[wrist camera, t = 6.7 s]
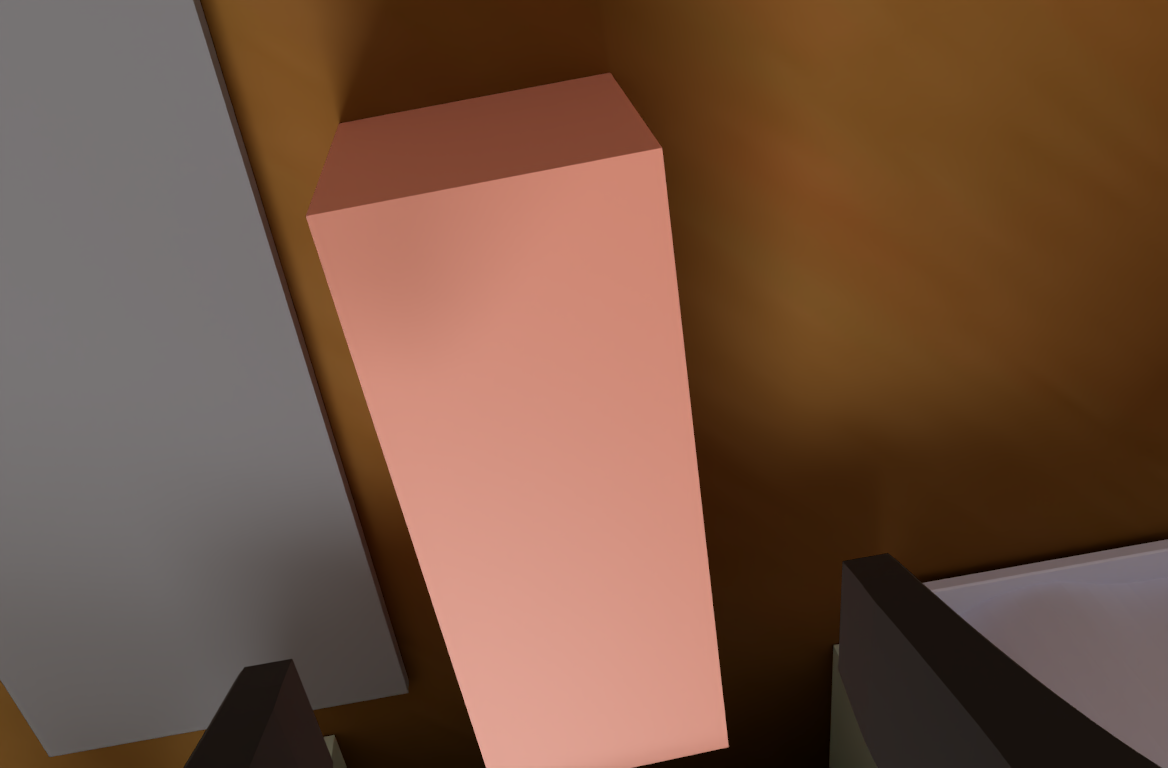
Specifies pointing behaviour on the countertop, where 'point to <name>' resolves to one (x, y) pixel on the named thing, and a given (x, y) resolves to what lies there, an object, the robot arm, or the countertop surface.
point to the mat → (157, 399)
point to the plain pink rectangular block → (535, 412)
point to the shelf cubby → (847, 744)
